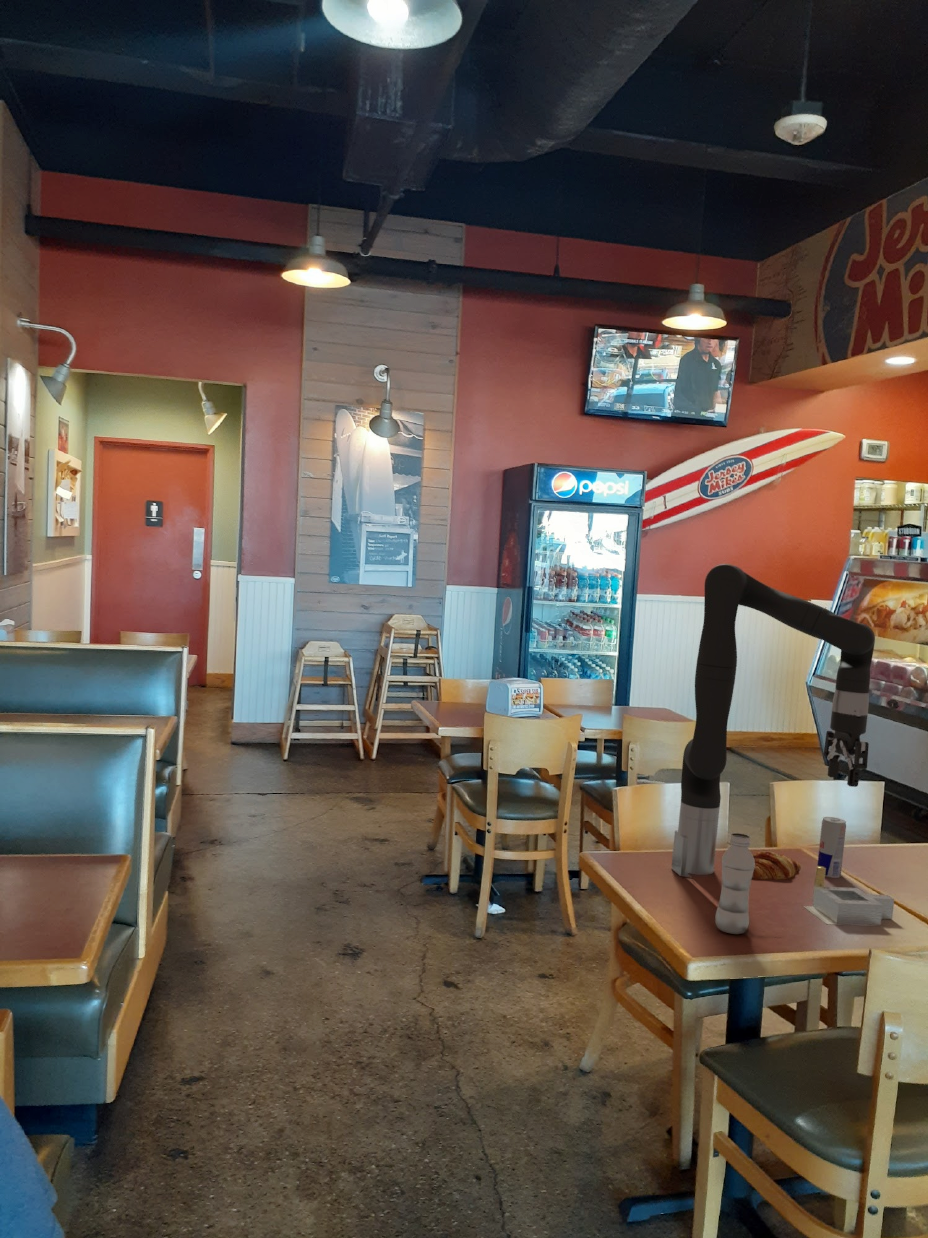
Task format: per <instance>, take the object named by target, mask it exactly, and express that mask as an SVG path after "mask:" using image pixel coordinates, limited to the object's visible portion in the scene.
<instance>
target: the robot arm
mask: <svg viewBox="0 0 928 1238" xmlns="http://www.w3.org/2000/svg"><path fill="white" fill-rule="evenodd" d="M703 606H704V608H703V610H704V613H703V623H702V624H703V625H702V631H701V635H700V640H699V645H698V652H697V653H698V654H697V659H696V665H695V666H696V667H695V676H694V700H695V717H696V718H695V725H694V731H693V738H692V739H690V740H689V741H688V742H687V743H686V745H685V747H684V750H683V754H682V755H683V756H682V766H681V767H682V769H681V779H680V793H681V795H680V806H679V807H680V808H679V817H678V827H677V830H675V831H674V836H673V848H672V856H671V857H672V858H671V869H672V871H674V873H676V874H677V875H678V876H679V877H684V878H685V877H686V878H691V879H693V877H692V875H699V876H706V875H707V876H708V875H712V874H713V873H714V870H715V862H716V861H715V858H716V848H717V838H718V828H719V826H718V825H719V817H720V809H721V808H720V807H721V799H722V796H721V787H720V786H721V784H720V783H721V775H722V773H723V771H724V770H725V768H726V765H727V759H728V758H727V756H728V755H727V752H728V751H727V739H728V737H727V736H728V720H729V715H730V710H731V706H732V705H731V704H732V702H733V701H732V700H733V695H734V688H735V682H736V674H737V665H738V664H737V663H738V651H737V650H738V649H737V639H736V620H737V613H738V607H739V606H743V607H747V608H751V609H752V610H756V611H759V612H760V613H763V614H765V615H767V616H769V617H771V618H773V619H775V620H777V621H779V622H780V623H782V624H784V625H786V626H788V627H790V628H792V629H794V630H797V632H801V633H803V634H806V635H808V636H810V637H812V638H815V639H819V640H822V641H824V642H825V643H828V644H829V645H831V646H833V647H835V648H837V649H839V650H840V658H839V666H838V668H837V672H836V680H835V689H834V690H835V691H834V694H833V699H832V707H831V716H830V725H829V727H830V728H829V729H830V730H827V731H826V734H825V741H824V747H823V756H824V757H826V758H827V760H828V766H827V777H830V778H838V777H839V769H840V768H839V767H840V760H841V758H842V757H844V760H845V761H847V765H848V768H849V769H848V771H847V772H848V773H847V783H846V785H847V786H849V787H851V788H852V787H853V788H855V787H858V786H859V780H860V779H859V778H860V772H861V771H862V770H867V768H868V760H869V759H868V758H869V745H870V744H869V742H868V741H867V742H866V741H861V735H864V734H865V733H866V732H867V723H868V715H869V706H870V705H869V704H870V703H869V702H870V701H869V699H870V698H869V697H870V695H869V694H870V693H869V692H870V683H871V666H872V661H873V655H874V648H875V643H876V636H875V633H874V631H873V629H872V628H871V626H869V625H867V624H864V623H861V622H856V621H853V620H852V619H848V618H845V617H843V616H840V615H837V614H836V613H835V612H833V611H831V610H829V609H827V608H824V607H822V606H820V605H817V604H815V603H813V602H811V601H808V600H806V599H803V598H800V597H797V596H794V595H791V594H789V593H786V592H783V591H780V590H778V589H776V588H773V587H771V586H768V585H766V584H765V583H763V582H761V581H760V580H757V579H756V578H755V577H753V576H751V575H749V574H748V573H746V572H745V571H744V570H742V568H741V567H739V566H736V565H734V564H729V563H720V564H718V565H715V566H713V567H712V568H711V569H710V570H709V571H708V573H707V574H706V576H705V579H704V603H703ZM861 760H862V761H861Z"/></svg>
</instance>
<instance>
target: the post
mask: <svg viewBox="0 0 928 1238" xmlns="http://www.w3.org/2000/svg"><path fill="white" fill-rule="evenodd" d="M825 871H826V868H825V867H822V866H817V865H816V866H815V873H814V874H815V875H814V886H813V891H814V890H815V886H816V887H825V879H826V876H825ZM813 899H814V892H813V895H812V900H813Z"/></svg>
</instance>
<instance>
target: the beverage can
mask: <svg viewBox="0 0 928 1238" xmlns="http://www.w3.org/2000/svg"><path fill="white" fill-rule="evenodd" d="M846 823H847V821H846V820H844V819H843V818H839V817H834V816H823V817H822V820H821V826H820V827H821V828H820V838H819V847H818V855H817V856H818V858H817V865H816V866H822V867H825V868H826V871H825V877H827V878H835V879H837V878H840V877H842V868H843V859H844V849H845V841H846V840H845V839H846V831H847V830H846V829H847V824H846Z"/></svg>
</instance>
